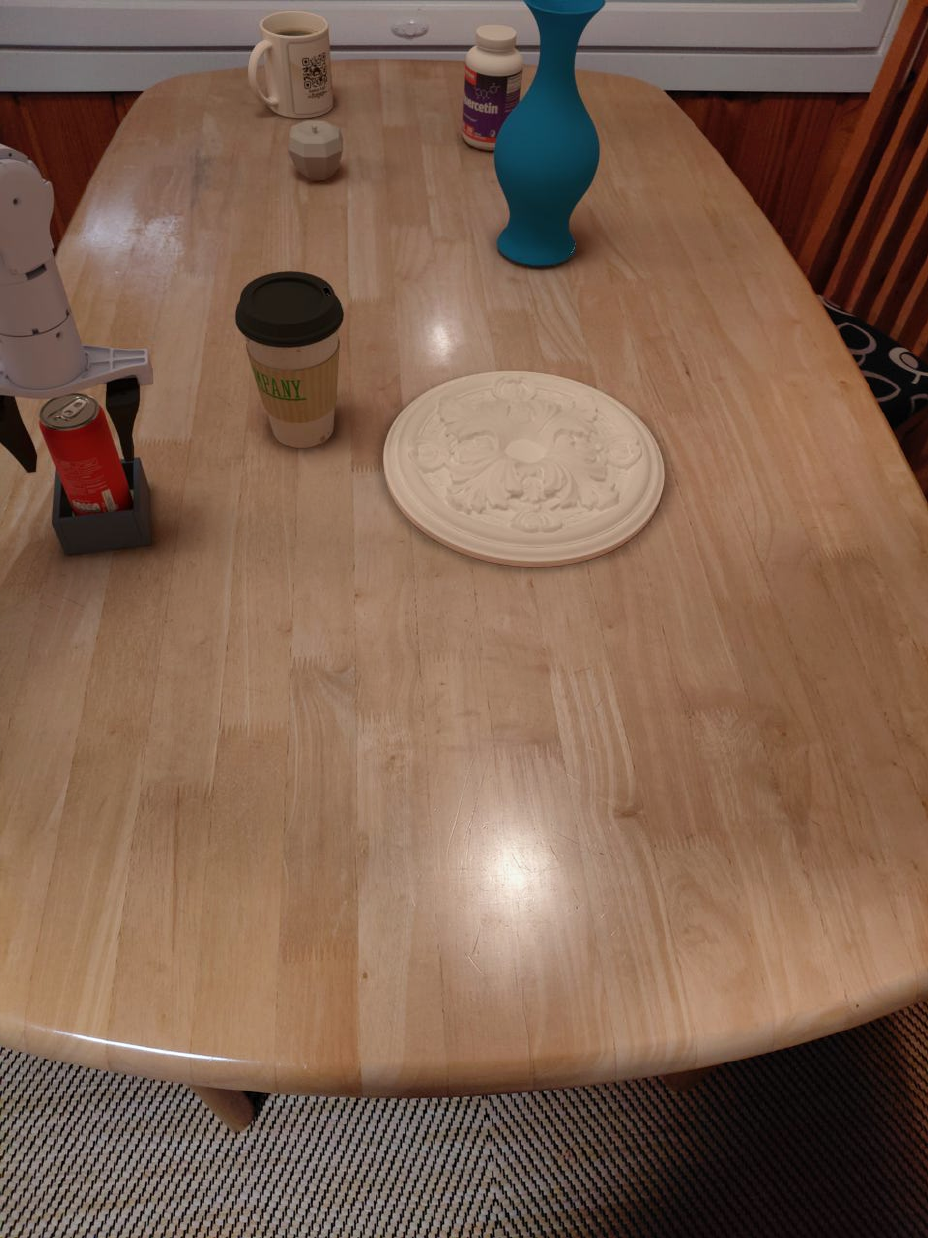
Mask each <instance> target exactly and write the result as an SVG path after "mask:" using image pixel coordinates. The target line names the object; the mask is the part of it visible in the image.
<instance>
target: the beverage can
mask: <svg viewBox="0 0 928 1238" xmlns="http://www.w3.org/2000/svg"><path fill="white" fill-rule="evenodd" d="M38 419H39V420H38V426H39V429H40V432H41V434H42V437H43V439H44V442H45V444H46V447H47V450H48V452H49V454H50V457H51V459H52V463H53V465H54V467H55V470H57V472H58V475H59V477H60V480H61V482H62V485H63V487H64V490H65V492H66V495H67V497H68V500H69V502H70V505H71V507H72V510H73V512H74V514H75V516H81V515H89V514H98V513H106V512H115V511H123V510H131V509H132V508H133V498H132V495H131V492H130V489H129V486H128V483H127V480H126V477H125V474H124V471H123V468H122V464H121V461H120V459H121V458H120V456H119V453H118V448H117V445H116V443H115V440H114V437H113V434H112V430H111V427H110V425H109V421H108V419H107V415H106V413H105V410H104V408H103V407H102V406H101V405H100V404H99V402H98V401H97V399H96V398H94V397H93V396H91V395H89V394H86V393H81V392H74V393H71V394H68V395H65V396H61V397H57V398H52V399H48V400H47V401H46V402H45V403H44V404H43V405H42V406H41V407H40V409H39V413H38Z"/></svg>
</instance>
